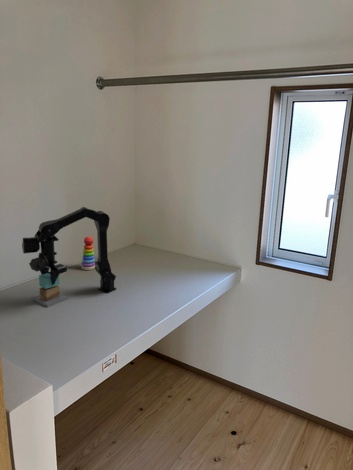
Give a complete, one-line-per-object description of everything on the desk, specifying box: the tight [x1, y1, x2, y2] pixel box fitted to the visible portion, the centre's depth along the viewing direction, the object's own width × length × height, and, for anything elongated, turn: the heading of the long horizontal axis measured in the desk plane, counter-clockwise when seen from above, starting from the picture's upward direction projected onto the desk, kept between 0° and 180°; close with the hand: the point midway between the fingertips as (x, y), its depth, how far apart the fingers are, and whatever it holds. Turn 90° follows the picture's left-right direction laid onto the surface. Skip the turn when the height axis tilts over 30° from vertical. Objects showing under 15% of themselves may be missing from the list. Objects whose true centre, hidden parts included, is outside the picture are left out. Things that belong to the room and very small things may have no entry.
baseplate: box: [31, 293, 68, 308], centre depth 174 cm, size 11×11×1 cm
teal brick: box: [38, 273, 60, 289], centre depth 171 cm, size 5×7×5 cm
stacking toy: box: [80, 235, 96, 271], centre depth 212 cm, size 8×8×19 cm
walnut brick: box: [39, 285, 61, 301], centre depth 173 cm, size 5×7×5 cm
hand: (49, 283), depth 172 cm, fingers closed on teal brick, 5 cm apart
